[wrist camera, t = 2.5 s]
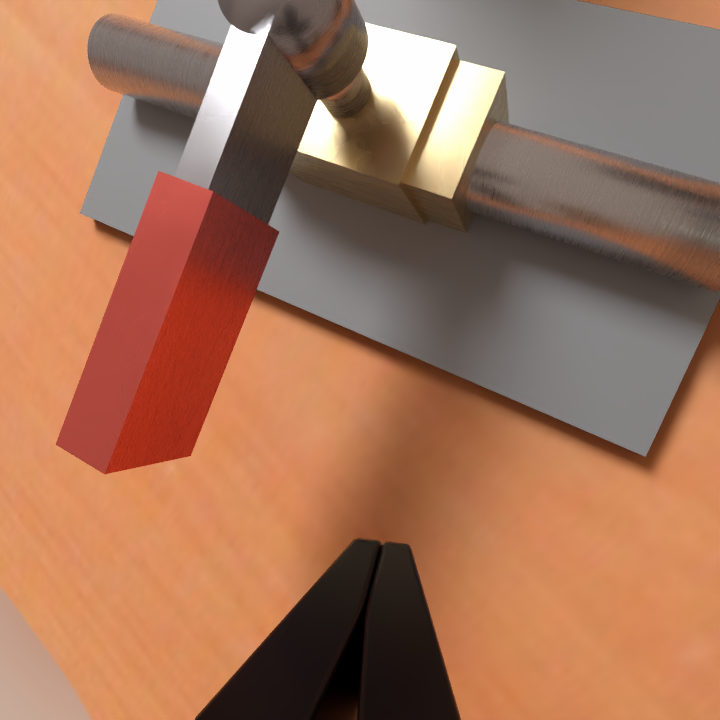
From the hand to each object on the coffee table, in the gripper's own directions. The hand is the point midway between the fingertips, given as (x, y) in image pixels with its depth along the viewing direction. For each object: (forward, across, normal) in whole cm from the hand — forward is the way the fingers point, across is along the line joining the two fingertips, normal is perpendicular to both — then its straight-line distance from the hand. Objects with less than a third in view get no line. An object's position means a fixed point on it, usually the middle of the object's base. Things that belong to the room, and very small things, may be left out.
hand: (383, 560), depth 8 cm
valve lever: (+9, +5, -3) cm, 11 cm away
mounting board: (+17, +2, -4) cm, 18 cm away
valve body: (+17, +2, -4) cm, 18 cm away
